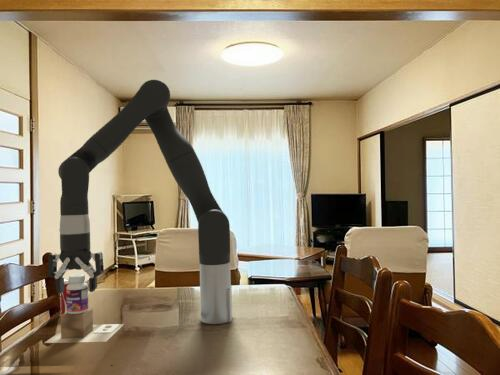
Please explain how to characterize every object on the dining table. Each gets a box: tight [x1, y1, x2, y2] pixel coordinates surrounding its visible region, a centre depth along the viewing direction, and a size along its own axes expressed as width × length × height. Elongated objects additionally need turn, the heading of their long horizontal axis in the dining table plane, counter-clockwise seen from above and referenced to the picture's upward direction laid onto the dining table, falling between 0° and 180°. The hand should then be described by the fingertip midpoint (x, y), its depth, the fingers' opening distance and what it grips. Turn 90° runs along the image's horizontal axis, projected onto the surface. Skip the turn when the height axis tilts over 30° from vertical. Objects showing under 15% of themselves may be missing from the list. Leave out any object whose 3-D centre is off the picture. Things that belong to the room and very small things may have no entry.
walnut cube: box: [60, 308, 94, 339], centre depth 111 cm, size 6×6×6 cm
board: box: [44, 323, 125, 344], centre depth 112 cm, size 16×14×1 cm
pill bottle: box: [66, 273, 89, 314], centre depth 111 cm, size 5×5×10 cm
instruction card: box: [93, 323, 121, 333], centre depth 115 cm, size 5×7×1 cm
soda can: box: [59, 278, 70, 316], centre depth 130 cm, size 5×5×12 cm
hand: (76, 291), depth 111 cm, fingers open, 8 cm apart
